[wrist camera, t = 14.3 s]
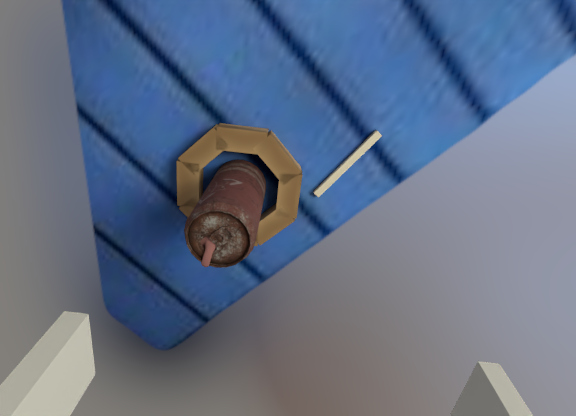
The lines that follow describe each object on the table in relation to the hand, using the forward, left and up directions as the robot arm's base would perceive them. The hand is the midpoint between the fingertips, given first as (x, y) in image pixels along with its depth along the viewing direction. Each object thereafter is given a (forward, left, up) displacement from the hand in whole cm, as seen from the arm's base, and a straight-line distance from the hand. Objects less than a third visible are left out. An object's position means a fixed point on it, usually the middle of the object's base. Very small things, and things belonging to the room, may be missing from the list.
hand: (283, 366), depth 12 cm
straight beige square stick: (+1, +7, -31) cm, 31 cm away
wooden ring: (+5, -5, -31) cm, 31 cm away
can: (+5, -5, -31) cm, 32 cm away
